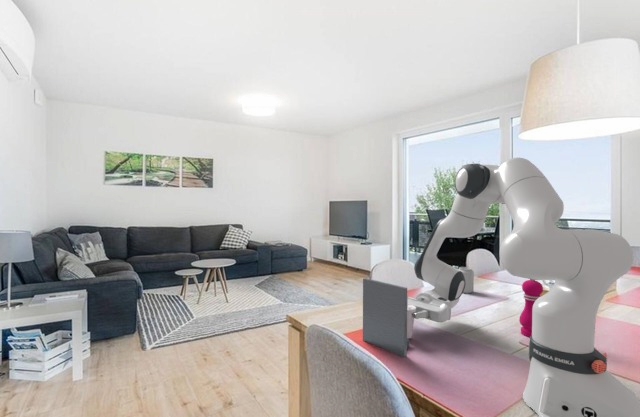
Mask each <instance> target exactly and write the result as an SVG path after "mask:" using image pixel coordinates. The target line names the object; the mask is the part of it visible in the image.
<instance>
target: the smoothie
mask: <svg viewBox="0 0 640 417" xmlns="http://www.w3.org/2000/svg"><path fill="white" fill-rule="evenodd" d="M408 297H409V294H408V293H407V339H411V338H413V332H414V324H415V318H413V313H414V312H416V307H415V306H413V305H409V304H408Z"/></svg>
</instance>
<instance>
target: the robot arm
mask: <svg viewBox="0 0 640 417" xmlns="http://www.w3.org/2000/svg"><path fill="white" fill-rule="evenodd" d="M454 187H455V188H454V189H455V191H456V195H455V197H454V199H453V203H452V206H451V209H450V211H449V213H448V214H447V216H446V217H444V218H441V219H439V220H438V222H436V224H435V226H434V228H433V230H432V232H431V234H430V235H429V237H428V239H427V242H426V244H425V245H424V248H423V249H422V252H421V253H420V255H419V256H418V258H417V259H416V261H415V262H414V266H413V267H414V268H413V269H414V273H415V276H416V278H417V279H419V280H421V281H423V282H425V283H427V284H428V285H430V286H432V287H434V288H432V289H431V290H426V291H423V292H420V293H418V294H417V295H416V296H415V297H411V296H408V304H409V305H413V306H415V307H416V312H414V313H413V318H414V320H415V319H416V320H419V319H425V320H429V321H433V322H436V323H445V322H447V321H450V320H451V318H452V309H453V308H454V307H456V306H457V304H458V303H459V302H460V298H461V296H462V295H463V294H464V293H463V291H464V288H465V284H466V283H465V277H464V274H463V273H462V272H461V271H459V270H458V269H459V268H456V267H454V266H452V265H449V264H447V263H446V262H444V261H443V260H440V259H439V258H438V256H437V255H438V252H439V250H440V248H441V246H442V244H443V243H444V241H445V239H446V238H457V239H465V238H470V237H471V238H472V237H474V236H475V235H478V234H479V233H480V232H481V231H482V229H483V227H484V225H485V222H486V219H487V217H488V216H487V215H488V212H489V208H490V206H491V204H502V205H505V206H506V208H507V211H508V212H509V214H510V217H511V220H512V223H513V227H512V230H511V231H510V232H509V233H508V234H507V235H506V236H504V238H503V240H502V241H501V244H500V247H499V258H500V262H501V264H502V266H503V267H504V269H505V271H506V272H508V273H509V275H512V276H514V277H518V278H523V279H527V280H530V279H533V280H535V281H554V284H553V285H552V287H551V288H550V289H549V291H547V292H545V294H543V295H542V294H541V295H540V296H541V297H539V298H538V299H537V300H536V301H535V302H534V304H533V308H532V336H530V337H529V341H528V357H529V362H530V363H529V364H530V365H529V370H528V375H527V380H526V384H525V387H524V389H523V393H522V395H523V396H522V400H523V399H524V400H523V401H524V403H525V402H526V403H525V405H527V406H528V408H530V407H531V408H532V409H533V410H532V409H531V408H530V409H531V410H532V411H534V410H535V411H534V412H535V414H536V415H537V416H538V415H539V416H538V417H640V399H639V398H638V396H637V395H636V393H635V392H633V391H632V390H631V389H629V388H628V387H627V386H626V385H624V383H622V382H621V381H620V380H619V379H617V378H616V377H615V376H614V375H613V374H612V373H611V372H609V371H608V370H607V367H608V360H607V359H608V358H607V356H608V355H607V352H604V353H601V352H600V351H599V350H597V348H596V347H595V337H596V336H595V334H596V322H597V314H598V311H599V307H600V304H601V303H602V300H603V299H604V297H605V295H606V293H607V292H608V290H609V288H611V287H612V285H613V284H614V283H615V282H617V281H618V280H619V279H620V278H622V277H623V276H624V275H627V274H628V272H629V271H631V268H632V267H633V264H634V263H633V262H634V251H633V249H632V246H631V245H630V243H629V242H628V240H627V239H625V237H624V236H621V235H620V234H618V233H615V232H609V231H605V230H604V231H603V230H599V229H594V228H593V229H588V228H587V229H585V228H584V229H579V228H575V229H571V228H570V229H568V228H566V229H564V228H559V227H558V226H556V223H558V221H560V219H561V217H562V216H563V214H564V208H565V205H564V201H563V200H562V198H561V197H560V195H559V194H558V192H557V191H556V190H555V188H554V187H553V186H552V184H551V183H550V181H549V180H548V178H547V177H546V176H545V175H544V173H543V171H541V170H540V169H539V168H538V167H537V165H535V164H533V162H531V161H530V160H528V159H527V158H524V157H512V158H509V159H507V160H505V161H504V162H502V163H501V164H500V165H495V164H494V165H493V164H479V163H468V164H464V165H462V166H461V167H460V169H459V170H458V171H457V173H456V175H455V178H454Z"/></svg>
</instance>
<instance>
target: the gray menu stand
mask: <svg viewBox="0 0 640 417" xmlns="http://www.w3.org/2000/svg"><path fill="white" fill-rule="evenodd" d="M407 294H408V287H405V286H401V285H397V284H392V283H388V282H383V281H379V280H375V279H371V278H367V277H365V278H363V279H362V341H364V342H365V343H369V344H371V345H373V346H375V347H378V348H380V349H383V350H384V351H386V352H387V351H388V352H389V353H393V354H394V355H396V356H398V357H402V358H406V357H407V356H408V353H407V352H408V348H409V347H410V346H411V345H410V344H411V343H410V341H411V340H410V338H407Z"/></svg>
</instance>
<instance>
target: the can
mask: <svg viewBox="0 0 640 417" xmlns="http://www.w3.org/2000/svg"><path fill="white" fill-rule="evenodd" d="M457 269H458V270H459V271H461V272H462V273H463V274H464V277H465V283H466V284H465V288H464V291H463V293H462V294H472V293H473V292H474V288H475V286H474V278H475V277H474V276H475V272H474V270H473V268H472V267H469V266H459V267H458V268H457Z"/></svg>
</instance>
